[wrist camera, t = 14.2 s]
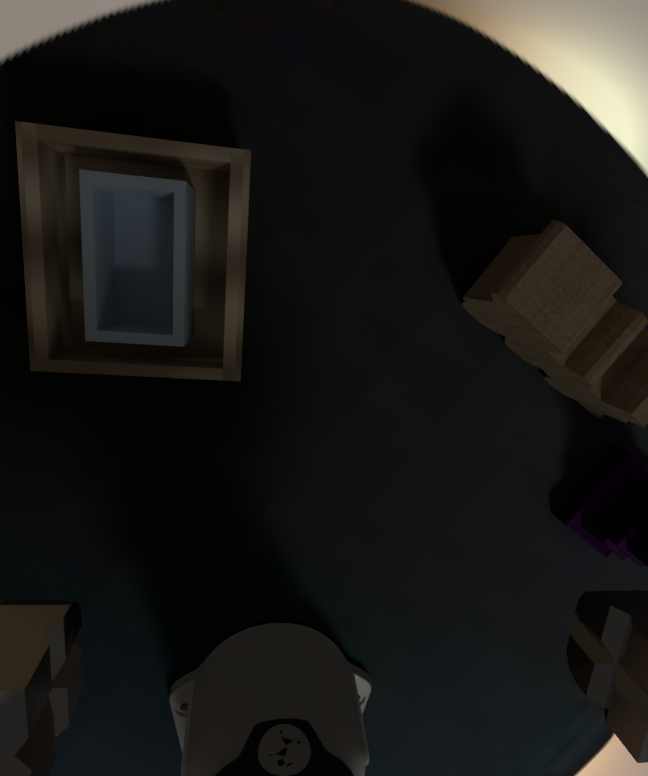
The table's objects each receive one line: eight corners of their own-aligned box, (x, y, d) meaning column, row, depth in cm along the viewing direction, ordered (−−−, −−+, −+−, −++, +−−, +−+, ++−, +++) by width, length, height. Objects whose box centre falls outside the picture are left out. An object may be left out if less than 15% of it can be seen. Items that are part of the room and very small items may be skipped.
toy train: (574, 406, 43) (666, 447, 33) (438, 286, 38) (500, 294, 29) (616, 357, 42) (723, 384, 33) (484, 229, 38) (562, 218, 28)
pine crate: (242, 367, 38) (240, 382, 33) (59, 357, 36) (29, 371, 31) (251, 165, 34) (250, 149, 29) (49, 141, 32) (13, 119, 27)
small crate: (193, 335, 36) (183, 346, 31) (108, 330, 35) (85, 340, 30) (196, 193, 33) (186, 181, 29) (104, 183, 33) (79, 169, 28)
